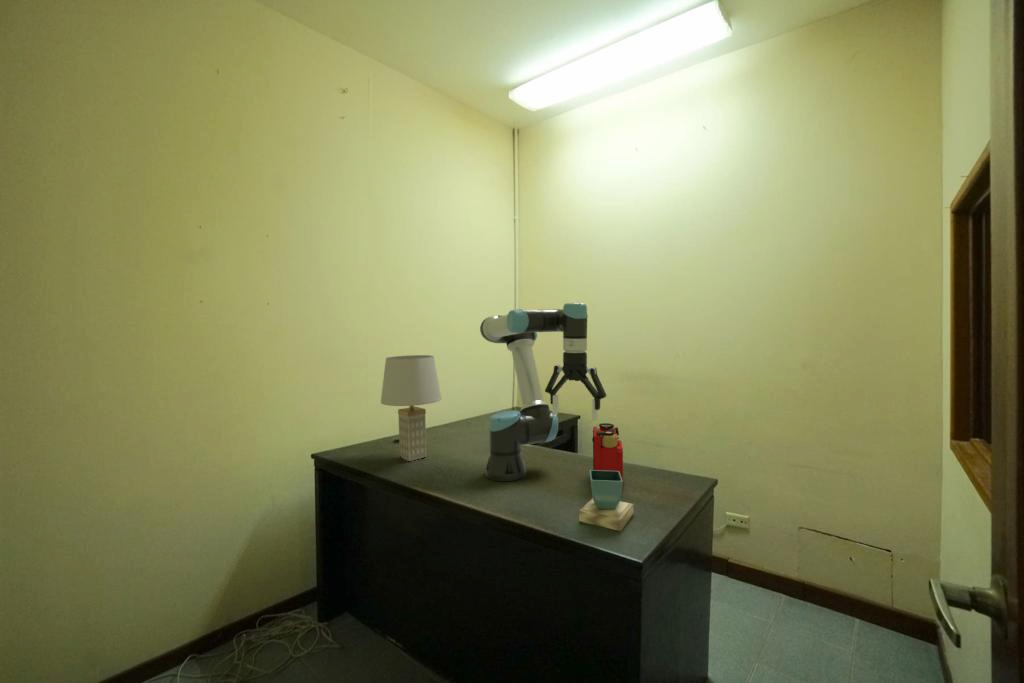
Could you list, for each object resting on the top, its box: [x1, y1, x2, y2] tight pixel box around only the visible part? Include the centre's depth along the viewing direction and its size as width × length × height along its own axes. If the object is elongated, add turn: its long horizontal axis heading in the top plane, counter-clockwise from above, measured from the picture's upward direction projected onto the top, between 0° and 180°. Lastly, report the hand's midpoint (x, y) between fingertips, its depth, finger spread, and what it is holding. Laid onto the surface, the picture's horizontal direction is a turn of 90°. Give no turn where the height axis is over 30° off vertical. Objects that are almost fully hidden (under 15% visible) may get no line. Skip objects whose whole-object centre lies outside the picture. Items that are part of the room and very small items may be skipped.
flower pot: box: [589, 469, 624, 509], centre depth 124 cm, size 9×9×9 cm
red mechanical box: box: [591, 422, 624, 481], centre depth 153 cm, size 16×10×20 cm, turn 168°
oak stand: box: [578, 497, 635, 532], centre depth 124 cm, size 12×12×3 cm
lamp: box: [380, 354, 442, 460], centre depth 183 cm, size 25×25×44 cm
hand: (574, 417), depth 138 cm, fingers open, 13 cm apart
